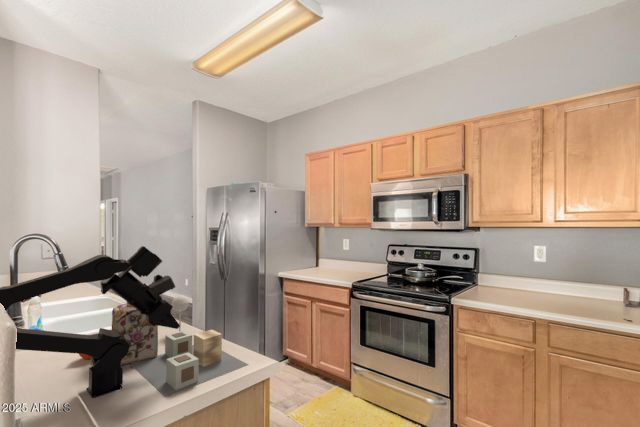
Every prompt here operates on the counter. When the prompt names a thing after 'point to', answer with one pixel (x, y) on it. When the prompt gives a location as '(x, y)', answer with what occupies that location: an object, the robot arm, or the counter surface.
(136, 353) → the decorative jar
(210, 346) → the plain maple block
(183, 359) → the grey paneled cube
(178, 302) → the lollipop
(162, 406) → the counter surface
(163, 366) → the slate rubber mat
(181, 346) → the brown paneled pale cube
